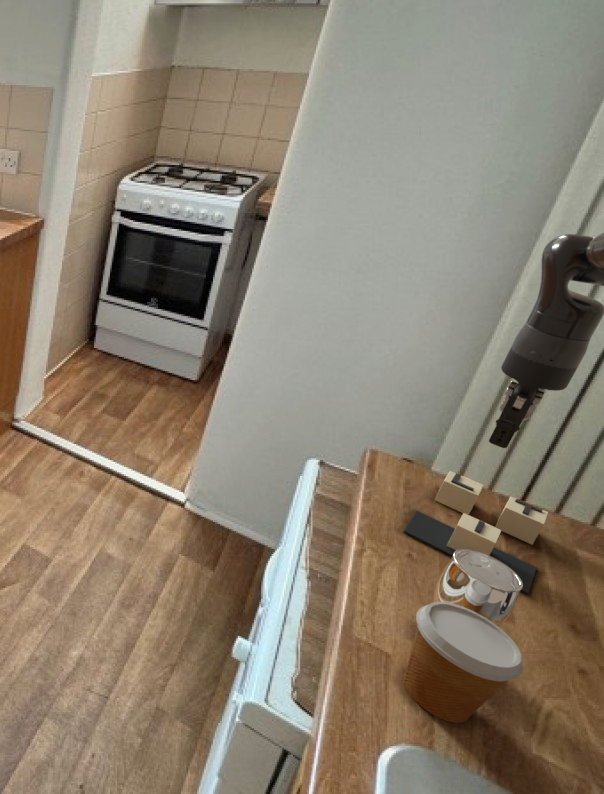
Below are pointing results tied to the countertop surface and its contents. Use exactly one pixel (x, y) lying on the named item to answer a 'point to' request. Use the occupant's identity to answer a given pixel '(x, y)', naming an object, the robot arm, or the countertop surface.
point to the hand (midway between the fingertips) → (502, 435)
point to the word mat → (439, 537)
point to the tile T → (521, 520)
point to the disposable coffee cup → (458, 661)
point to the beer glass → (479, 585)
